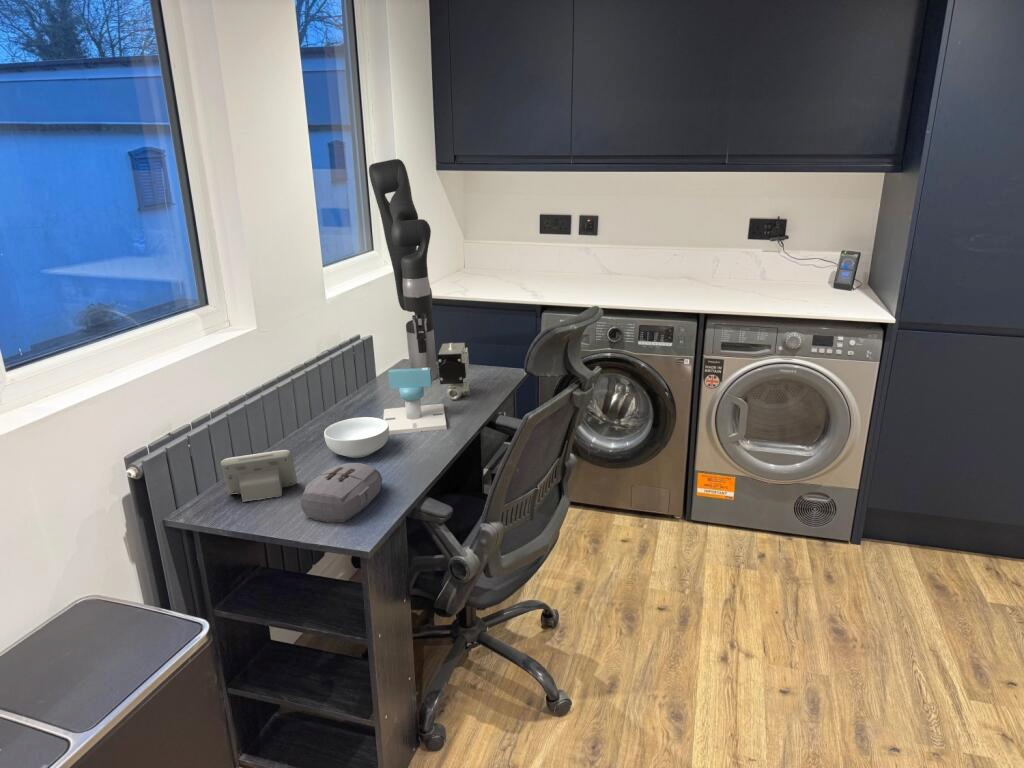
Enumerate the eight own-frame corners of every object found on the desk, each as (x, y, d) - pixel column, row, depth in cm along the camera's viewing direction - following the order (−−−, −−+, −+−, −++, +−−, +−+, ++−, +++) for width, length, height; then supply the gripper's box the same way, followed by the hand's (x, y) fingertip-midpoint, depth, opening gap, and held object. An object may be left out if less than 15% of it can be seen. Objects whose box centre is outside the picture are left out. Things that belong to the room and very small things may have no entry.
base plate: (384, 412, 218) (381, 389, 216) (443, 407, 220) (441, 384, 218) (382, 435, 201) (380, 410, 199) (446, 429, 204) (444, 404, 201)
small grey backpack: (352, 528, 153) (396, 486, 171) (347, 493, 151) (392, 454, 169) (293, 519, 158) (341, 479, 176) (287, 485, 156) (337, 448, 173)
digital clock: (300, 482, 176) (294, 442, 172) (292, 499, 167) (285, 458, 164) (234, 487, 175) (226, 447, 171) (222, 504, 166) (214, 463, 163)
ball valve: (468, 405, 221) (464, 350, 215) (440, 406, 221) (436, 351, 215) (472, 386, 238) (468, 335, 232) (447, 387, 238) (443, 336, 232)
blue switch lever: (389, 400, 205) (386, 373, 202) (393, 392, 212) (390, 366, 209) (431, 399, 205) (428, 371, 202) (433, 391, 212) (431, 364, 209)
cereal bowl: (401, 441, 197) (398, 417, 194) (374, 467, 182) (371, 442, 179) (345, 437, 201) (342, 414, 199) (315, 462, 186) (311, 437, 184)
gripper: (403, 288, 205) (408, 342, 210) (403, 299, 192) (409, 356, 197) (429, 286, 206) (434, 340, 211) (431, 297, 193) (436, 354, 198)
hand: (422, 348), depth 204 cm, fingers open, 8 cm apart
